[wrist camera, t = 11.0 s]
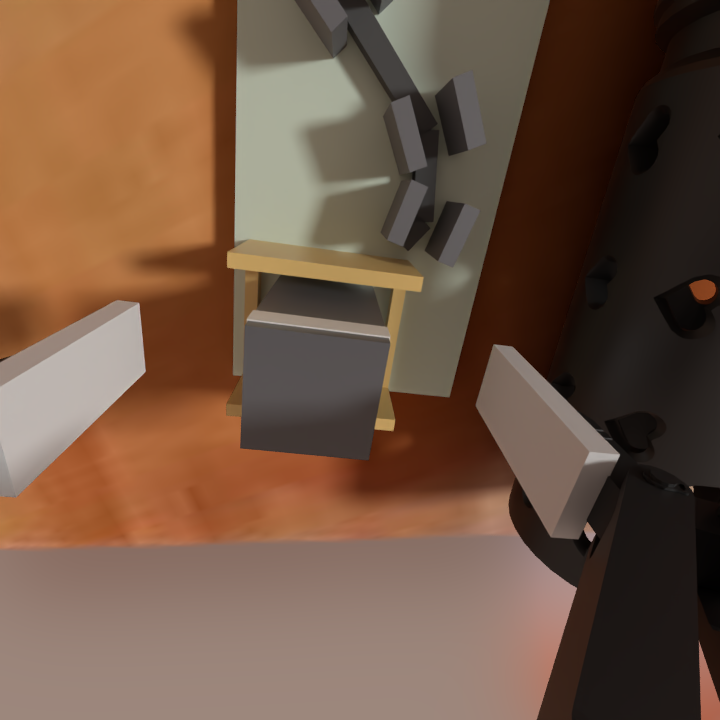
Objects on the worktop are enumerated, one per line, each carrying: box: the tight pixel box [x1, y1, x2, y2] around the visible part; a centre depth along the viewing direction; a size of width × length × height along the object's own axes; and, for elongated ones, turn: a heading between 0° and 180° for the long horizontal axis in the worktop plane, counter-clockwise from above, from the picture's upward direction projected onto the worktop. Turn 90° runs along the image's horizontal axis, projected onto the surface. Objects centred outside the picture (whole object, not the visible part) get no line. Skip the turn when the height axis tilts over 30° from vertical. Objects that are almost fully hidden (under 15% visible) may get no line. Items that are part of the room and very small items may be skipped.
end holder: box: [226, 239, 424, 431], centre depth 19 cm, size 7×8×4 cm
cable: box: [338, 0, 439, 251], centre depth 16 cm, size 13×3×1 cm, turn 23°
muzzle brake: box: [509, 0, 720, 587], centre depth 16 cm, size 10×28×10 cm, turn 174°
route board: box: [233, 0, 550, 397], centre depth 17 cm, size 19×12×4 cm, turn 173°
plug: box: [240, 275, 390, 460], centre depth 17 cm, size 5×5×8 cm
